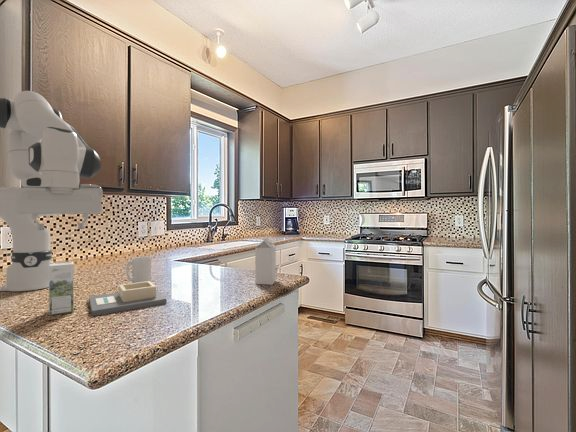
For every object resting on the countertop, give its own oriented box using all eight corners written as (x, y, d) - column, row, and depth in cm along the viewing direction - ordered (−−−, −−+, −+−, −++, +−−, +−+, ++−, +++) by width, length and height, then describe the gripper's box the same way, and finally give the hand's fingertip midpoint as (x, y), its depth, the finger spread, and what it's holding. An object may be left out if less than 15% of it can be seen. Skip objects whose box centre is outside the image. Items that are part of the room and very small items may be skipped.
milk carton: (255, 284, 120) (255, 238, 120) (259, 280, 128) (259, 236, 127) (272, 285, 119) (272, 238, 119) (275, 281, 126) (275, 237, 126)
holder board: (89, 300, 98) (88, 285, 98) (153, 291, 109) (153, 278, 109) (92, 316, 83) (92, 298, 83) (166, 303, 95) (166, 288, 95)
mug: (155, 287, 116) (155, 256, 116) (143, 291, 109) (143, 259, 109) (132, 286, 118) (132, 256, 118) (120, 290, 111) (119, 258, 111)
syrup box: (73, 307, 91) (73, 260, 91) (73, 312, 86) (73, 263, 86) (50, 310, 88) (49, 262, 88) (48, 316, 83) (48, 265, 83)
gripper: (101, 185, 95) (102, 228, 95) (16, 181, 83) (17, 230, 83) (103, 183, 90) (103, 228, 90) (13, 179, 78) (13, 231, 78)
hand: (61, 229), depth 87 cm, fingers open, 8 cm apart
